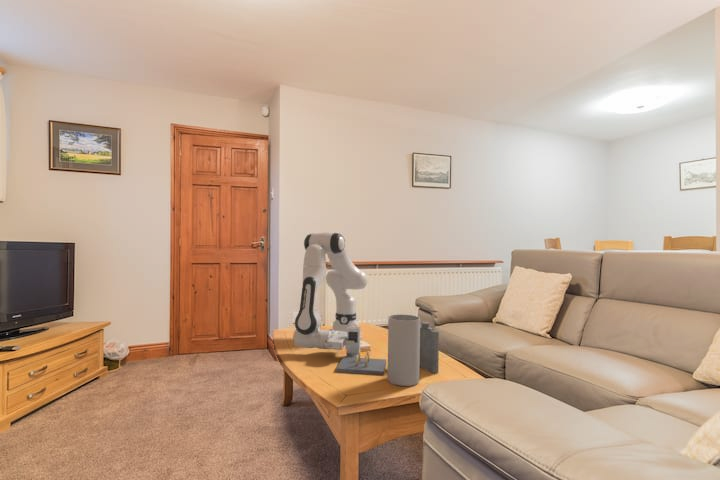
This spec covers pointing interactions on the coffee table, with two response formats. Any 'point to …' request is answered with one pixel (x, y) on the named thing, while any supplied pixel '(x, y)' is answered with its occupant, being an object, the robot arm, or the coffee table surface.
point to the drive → (354, 334)
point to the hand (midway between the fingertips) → (355, 341)
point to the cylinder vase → (403, 349)
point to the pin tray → (362, 365)
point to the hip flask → (429, 348)
